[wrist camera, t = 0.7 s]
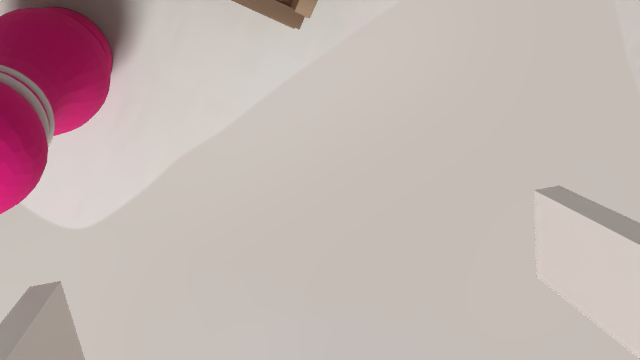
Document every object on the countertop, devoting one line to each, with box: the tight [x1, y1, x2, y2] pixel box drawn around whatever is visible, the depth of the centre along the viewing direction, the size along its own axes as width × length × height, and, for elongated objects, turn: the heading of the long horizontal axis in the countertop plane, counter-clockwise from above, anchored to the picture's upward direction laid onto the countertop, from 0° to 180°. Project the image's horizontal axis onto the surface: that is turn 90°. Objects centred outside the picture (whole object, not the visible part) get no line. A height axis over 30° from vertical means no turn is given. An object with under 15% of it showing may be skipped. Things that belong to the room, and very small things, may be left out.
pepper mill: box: [0, 7, 112, 214], centre depth 26 cm, size 7×7×20 cm
